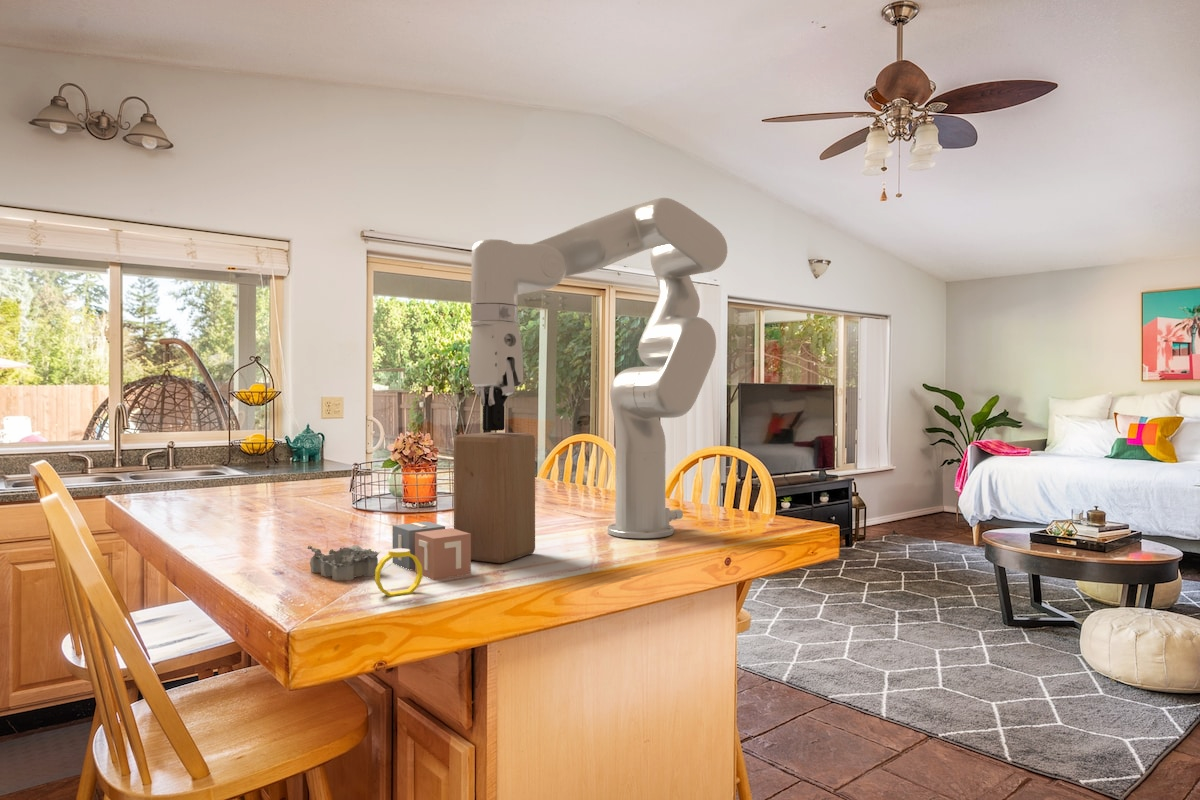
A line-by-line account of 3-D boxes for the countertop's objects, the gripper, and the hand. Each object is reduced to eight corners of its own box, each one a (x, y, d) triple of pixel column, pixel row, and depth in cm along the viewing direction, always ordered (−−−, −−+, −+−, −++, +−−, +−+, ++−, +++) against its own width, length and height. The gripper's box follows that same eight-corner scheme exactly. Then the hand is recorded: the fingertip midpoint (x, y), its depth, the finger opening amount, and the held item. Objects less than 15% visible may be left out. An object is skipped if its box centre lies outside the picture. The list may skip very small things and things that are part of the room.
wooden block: (451, 559, 120) (451, 434, 120) (488, 548, 129) (488, 431, 129) (502, 565, 115) (502, 436, 115) (537, 553, 124) (537, 433, 124)
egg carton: (304, 572, 113) (304, 545, 113) (352, 564, 118) (351, 538, 118) (335, 584, 105) (335, 555, 105) (384, 575, 110) (384, 547, 110)
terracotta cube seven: (451, 567, 115) (451, 528, 115) (471, 574, 110) (471, 533, 110) (413, 573, 111) (413, 532, 111) (432, 581, 106) (432, 539, 106)
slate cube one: (427, 558, 121) (427, 520, 121) (445, 565, 116) (445, 525, 116) (391, 563, 117) (391, 524, 117) (408, 570, 112) (408, 529, 112)
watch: (416, 591, 102) (419, 547, 102) (423, 596, 99) (426, 550, 99) (372, 594, 99) (375, 548, 99) (377, 599, 96) (380, 552, 96)
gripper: (539, 315, 119) (538, 431, 119) (490, 322, 130) (489, 428, 130) (498, 311, 114) (497, 432, 114) (451, 319, 125) (450, 429, 125)
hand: (493, 430), depth 122 cm, fingers closed
